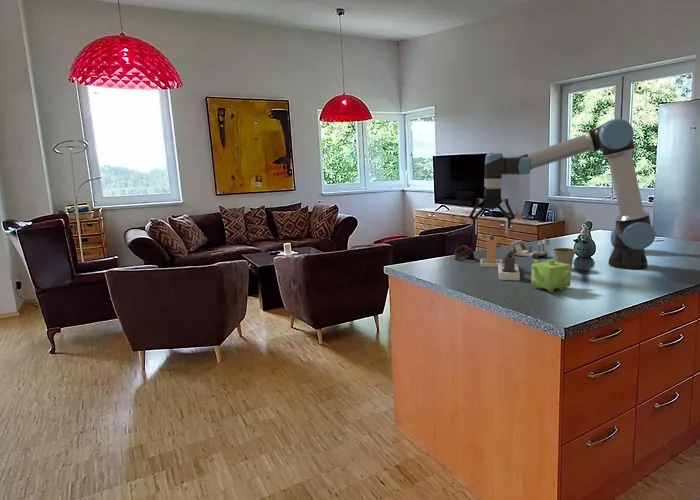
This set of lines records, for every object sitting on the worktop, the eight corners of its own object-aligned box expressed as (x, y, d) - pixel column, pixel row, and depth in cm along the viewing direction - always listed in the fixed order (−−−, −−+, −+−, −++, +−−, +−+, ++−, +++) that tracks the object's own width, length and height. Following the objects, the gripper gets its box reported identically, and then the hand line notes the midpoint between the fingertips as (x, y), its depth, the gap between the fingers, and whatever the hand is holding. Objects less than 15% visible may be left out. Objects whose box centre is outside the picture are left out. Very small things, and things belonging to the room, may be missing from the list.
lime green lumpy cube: (529, 292, 177) (530, 263, 175) (528, 283, 191) (529, 255, 188) (573, 294, 172) (575, 264, 170) (569, 285, 186) (571, 257, 183)
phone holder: (553, 237, 237) (543, 240, 229) (552, 256, 238) (542, 260, 230) (519, 234, 249) (508, 237, 241) (518, 252, 251) (508, 256, 243)
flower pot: (548, 269, 212) (549, 250, 210) (556, 265, 218) (557, 247, 217) (570, 272, 205) (571, 252, 204) (578, 268, 212) (579, 249, 210)
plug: (495, 263, 224) (496, 234, 221) (495, 265, 219) (496, 236, 216) (486, 263, 225) (487, 234, 222) (486, 265, 220) (487, 235, 218)
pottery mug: (478, 262, 231) (471, 249, 228) (460, 270, 234) (453, 257, 231) (473, 252, 242) (467, 239, 239) (456, 259, 245) (449, 247, 242)
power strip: (516, 270, 212) (517, 246, 209) (519, 280, 195) (520, 254, 192) (498, 269, 214) (498, 245, 212) (499, 279, 197) (499, 253, 195)
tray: (501, 263, 226) (501, 259, 225) (502, 268, 216) (502, 264, 215) (480, 262, 228) (480, 258, 228) (480, 267, 218) (480, 263, 218)
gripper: (521, 187, 215) (519, 233, 220) (464, 187, 222) (463, 232, 226) (522, 188, 208) (520, 236, 212) (464, 188, 215) (463, 234, 219)
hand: (491, 234), depth 219 cm, fingers open, 13 cm apart
